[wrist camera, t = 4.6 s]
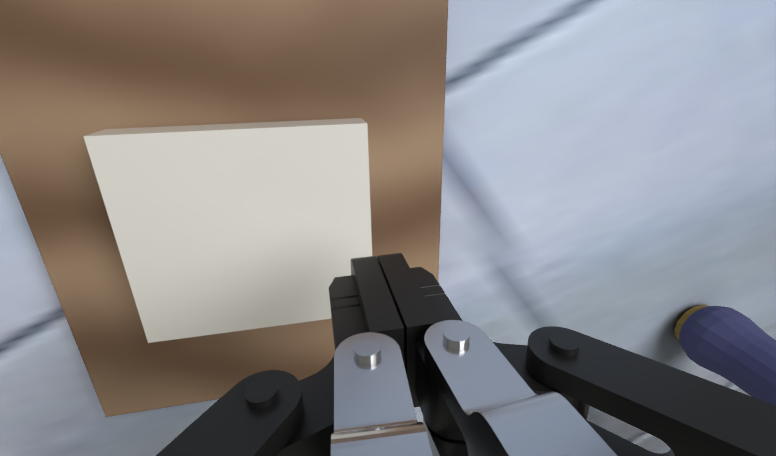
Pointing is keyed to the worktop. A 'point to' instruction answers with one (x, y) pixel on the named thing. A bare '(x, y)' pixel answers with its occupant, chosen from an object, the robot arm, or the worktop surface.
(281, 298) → the block
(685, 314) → the rubber mallet
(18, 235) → the worktop surface
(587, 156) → the worktop surface
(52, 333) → the worktop surface
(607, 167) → the worktop surface
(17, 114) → the board
